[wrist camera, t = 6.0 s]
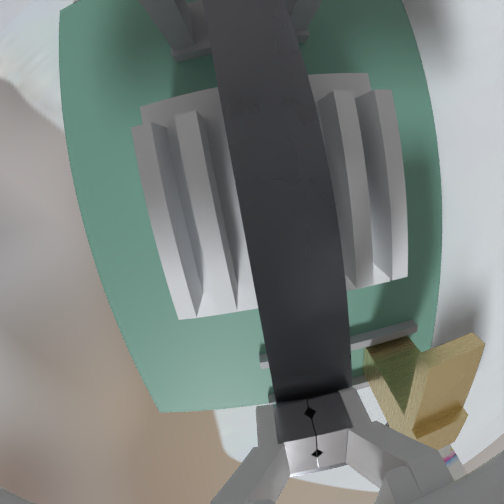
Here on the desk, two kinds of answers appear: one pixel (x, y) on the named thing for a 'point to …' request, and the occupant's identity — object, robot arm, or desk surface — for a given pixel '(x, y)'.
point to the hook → (423, 386)
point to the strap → (283, 197)
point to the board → (119, 209)
